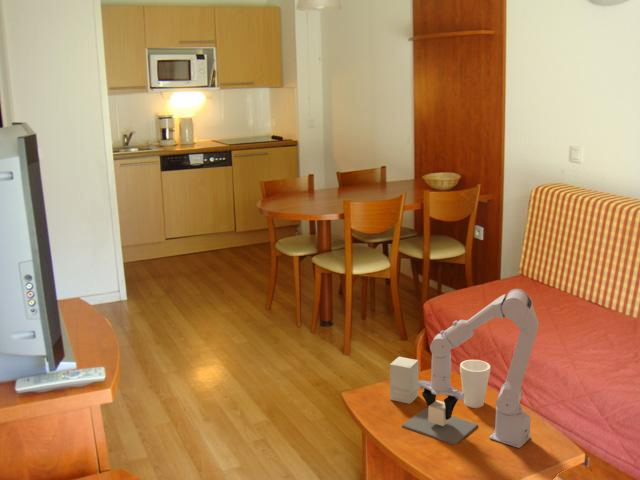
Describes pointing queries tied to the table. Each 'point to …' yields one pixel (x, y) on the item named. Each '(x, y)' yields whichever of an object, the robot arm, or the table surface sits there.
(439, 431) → the charcoal mat
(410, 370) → the supplement box
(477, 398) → the foam cup
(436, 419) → the cream cube
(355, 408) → the table surface
